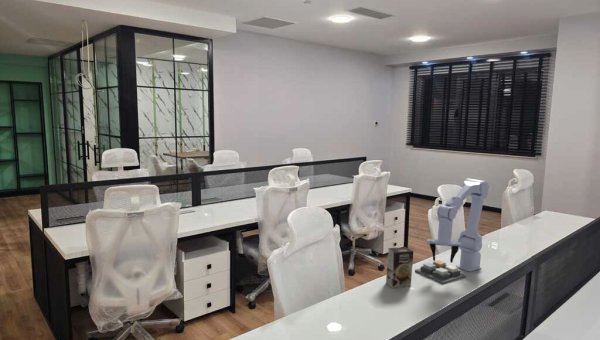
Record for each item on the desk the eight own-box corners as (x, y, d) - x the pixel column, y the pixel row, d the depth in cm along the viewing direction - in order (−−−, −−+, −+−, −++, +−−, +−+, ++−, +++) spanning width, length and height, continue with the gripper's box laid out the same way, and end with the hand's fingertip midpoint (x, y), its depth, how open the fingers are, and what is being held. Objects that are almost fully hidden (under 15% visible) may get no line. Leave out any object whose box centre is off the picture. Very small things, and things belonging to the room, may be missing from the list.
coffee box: (392, 288, 174) (394, 252, 172) (385, 282, 180) (387, 247, 178) (411, 287, 176) (414, 251, 174) (403, 280, 183) (406, 246, 180)
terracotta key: (438, 264, 198) (438, 260, 198) (445, 266, 195) (445, 262, 195) (433, 265, 196) (433, 261, 196) (439, 268, 193) (440, 264, 192)
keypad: (437, 265, 202) (438, 260, 202) (465, 277, 189) (466, 271, 188) (415, 271, 194) (415, 266, 193) (442, 284, 180) (443, 278, 180)
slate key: (428, 266, 195) (429, 262, 194) (435, 269, 191) (435, 265, 191) (423, 268, 192) (423, 264, 192) (429, 271, 189) (430, 266, 189)
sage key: (440, 271, 189) (441, 267, 188) (447, 274, 185) (448, 270, 185) (435, 273, 187) (435, 269, 186) (442, 276, 183) (442, 272, 183)
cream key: (450, 268, 192) (451, 264, 192) (457, 271, 189) (458, 267, 189) (445, 270, 190) (445, 266, 190) (452, 273, 187) (452, 269, 187)
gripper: (428, 233, 181) (426, 262, 183) (463, 236, 178) (460, 265, 180) (427, 228, 188) (425, 256, 190) (461, 231, 184) (458, 260, 186)
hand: (442, 261), depth 185 cm, fingers open, 7 cm apart
